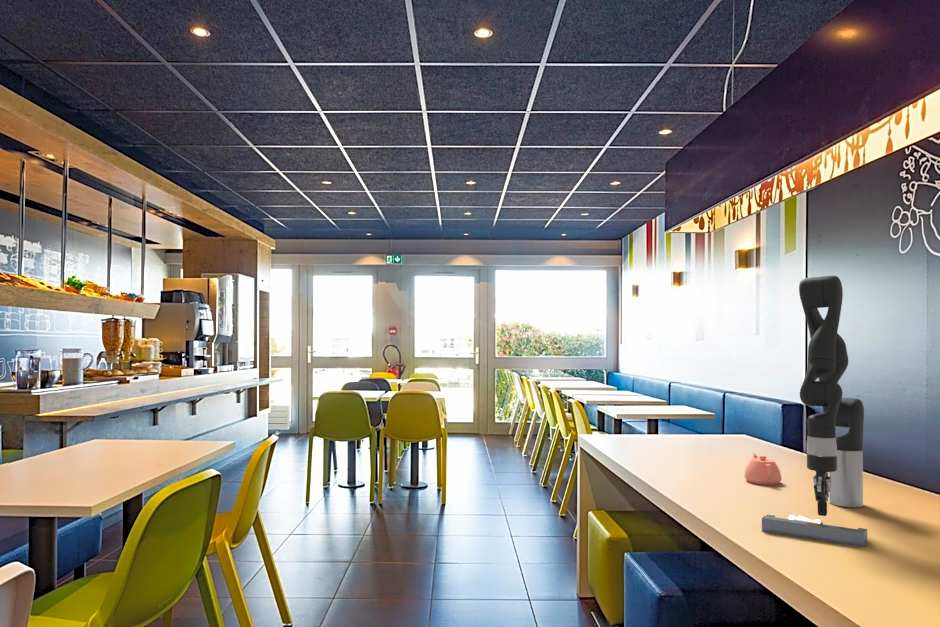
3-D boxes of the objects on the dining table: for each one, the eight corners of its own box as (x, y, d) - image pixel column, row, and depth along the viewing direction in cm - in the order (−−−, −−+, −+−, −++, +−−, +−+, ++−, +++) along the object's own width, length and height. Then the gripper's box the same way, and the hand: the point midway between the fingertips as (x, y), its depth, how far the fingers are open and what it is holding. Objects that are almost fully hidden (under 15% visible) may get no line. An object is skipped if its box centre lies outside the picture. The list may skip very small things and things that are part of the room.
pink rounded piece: (752, 486, 241) (752, 459, 241) (737, 476, 258) (737, 450, 259) (788, 487, 239) (788, 460, 240) (770, 477, 257) (770, 451, 258)
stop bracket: (767, 525, 190) (767, 511, 190) (867, 540, 176) (867, 525, 176) (761, 531, 184) (761, 516, 184) (865, 547, 170) (864, 531, 170)
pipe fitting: (795, 527, 191) (787, 530, 186) (795, 512, 191) (787, 515, 186) (826, 532, 185) (819, 536, 180) (826, 518, 186) (819, 521, 181)
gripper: (810, 448, 200) (811, 508, 199) (803, 454, 189) (803, 518, 188) (839, 450, 195) (840, 512, 195) (833, 457, 184) (834, 522, 184)
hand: (822, 515), depth 192 cm, fingers closed
